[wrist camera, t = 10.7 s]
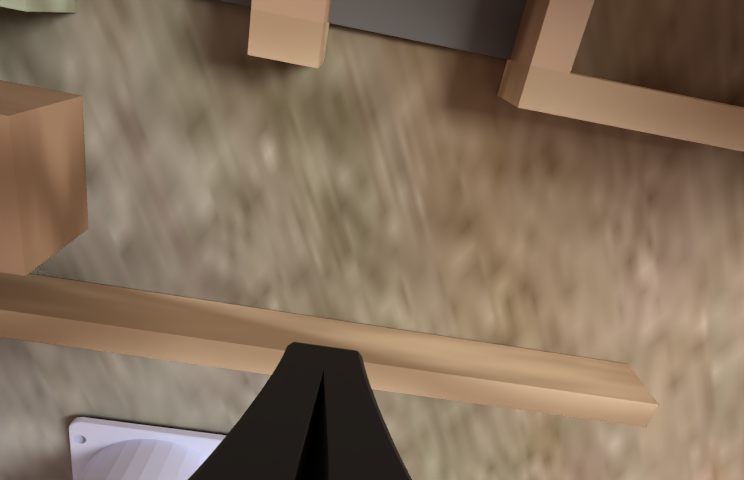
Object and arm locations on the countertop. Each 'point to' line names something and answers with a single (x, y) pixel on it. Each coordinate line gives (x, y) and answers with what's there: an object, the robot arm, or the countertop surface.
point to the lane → (375, 344)
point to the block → (40, 175)
